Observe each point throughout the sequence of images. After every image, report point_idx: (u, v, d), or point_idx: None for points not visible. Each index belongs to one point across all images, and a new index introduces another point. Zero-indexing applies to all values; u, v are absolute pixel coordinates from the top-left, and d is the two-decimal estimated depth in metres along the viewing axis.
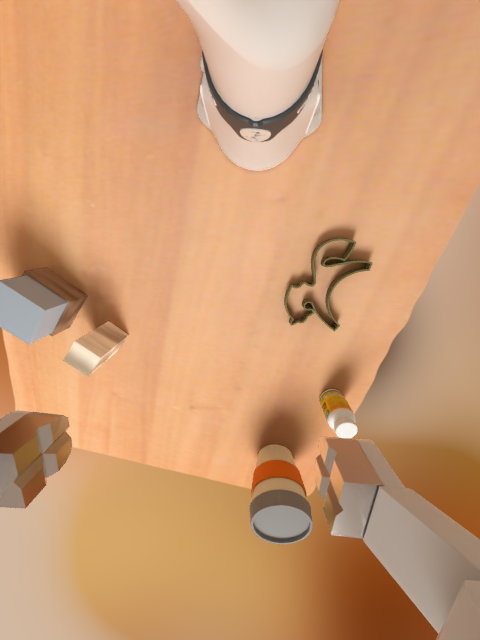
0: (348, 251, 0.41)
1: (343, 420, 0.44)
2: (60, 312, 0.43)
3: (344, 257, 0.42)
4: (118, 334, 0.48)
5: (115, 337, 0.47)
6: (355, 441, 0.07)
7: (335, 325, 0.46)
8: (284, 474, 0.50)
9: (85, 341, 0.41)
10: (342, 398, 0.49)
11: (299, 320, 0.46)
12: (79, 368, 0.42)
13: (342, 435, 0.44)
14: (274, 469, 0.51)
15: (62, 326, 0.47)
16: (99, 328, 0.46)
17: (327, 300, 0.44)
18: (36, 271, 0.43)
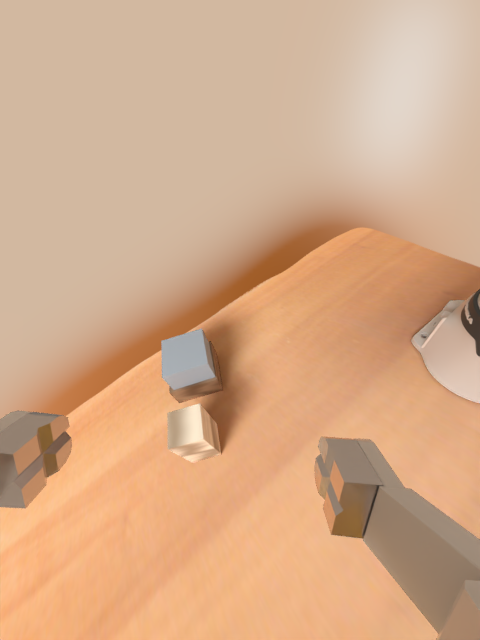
0: None
1: None
2: (202, 379, 0.43)
3: None
4: (217, 442, 0.39)
5: (215, 441, 0.38)
6: (355, 440, 0.07)
7: None
8: None
9: (203, 413, 0.35)
10: None
11: None
12: (171, 432, 0.33)
13: None
14: None
15: (182, 394, 0.44)
16: (211, 419, 0.39)
17: None
18: (213, 348, 0.50)
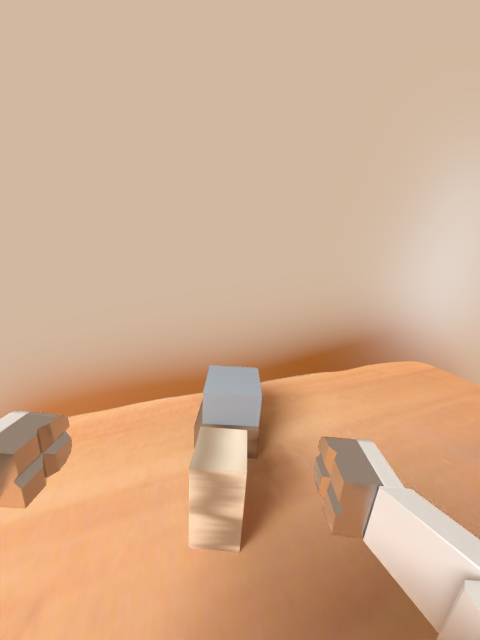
0: None
1: None
2: (243, 421, 0.33)
3: None
4: None
5: None
6: (355, 441, 0.07)
7: None
8: None
9: None
10: None
11: None
12: (199, 449, 0.22)
13: None
14: None
15: None
16: None
17: None
18: None
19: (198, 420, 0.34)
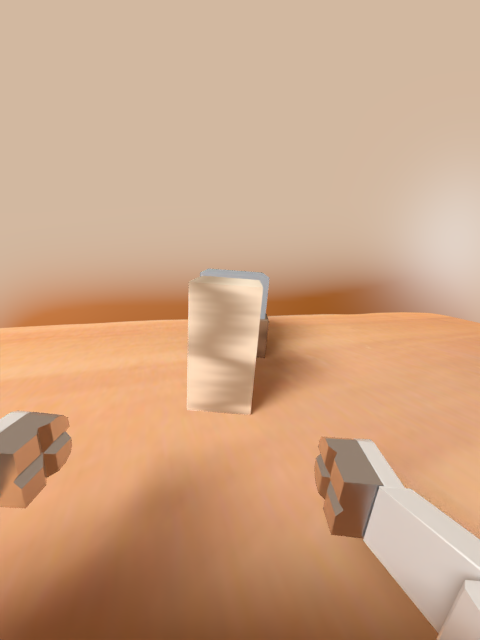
0: None
1: None
2: None
3: None
4: None
5: None
6: (355, 441, 0.07)
7: None
8: None
9: None
10: None
11: None
12: (202, 279, 0.18)
13: None
14: None
15: None
16: None
17: None
18: None
19: None
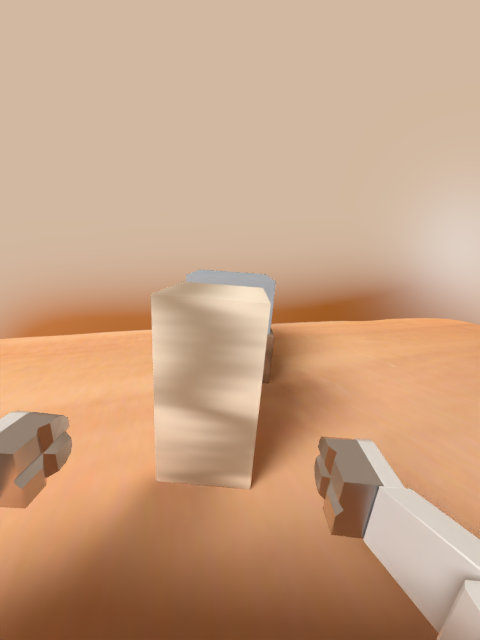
0: None
1: None
2: None
3: None
4: None
5: None
6: (355, 441, 0.07)
7: None
8: None
9: None
10: None
11: None
12: (177, 288, 0.12)
13: None
14: None
15: None
16: None
17: None
18: None
19: None
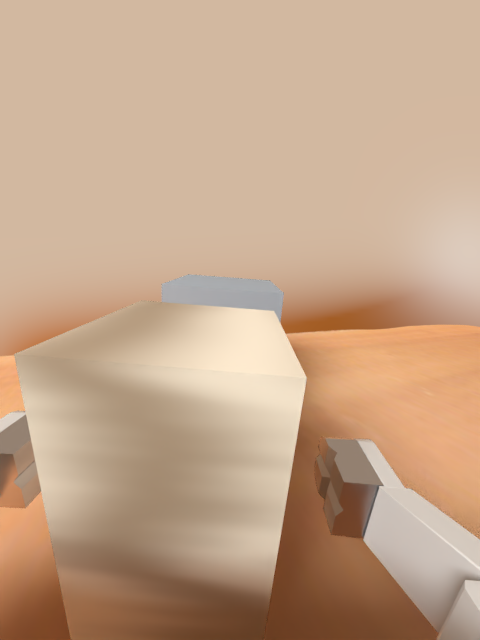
0: None
1: None
2: None
3: None
4: None
5: None
6: (355, 441, 0.07)
7: None
8: None
9: None
10: None
11: None
12: (111, 323, 0.06)
13: None
14: None
15: None
16: None
17: None
18: None
19: None
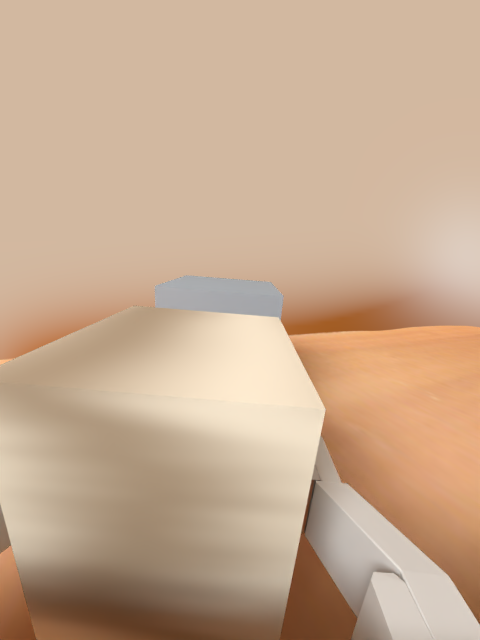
0: None
1: None
2: None
3: None
4: None
5: None
6: None
7: None
8: None
9: None
10: None
11: None
12: (94, 334, 0.05)
13: None
14: None
15: None
16: None
17: None
18: None
19: None
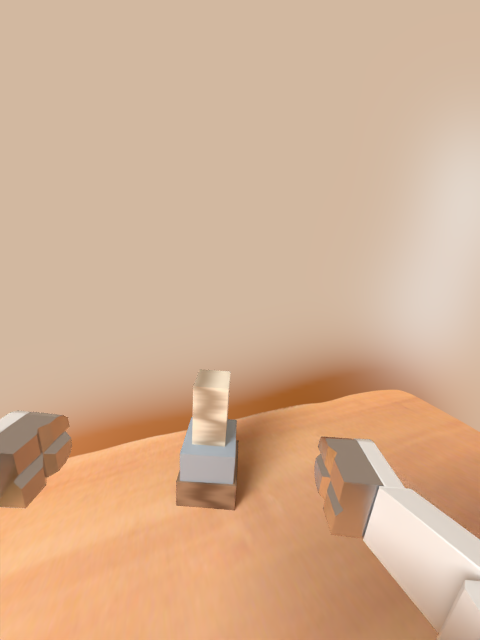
0: None
1: None
2: (218, 479, 0.35)
3: None
4: None
5: None
6: (355, 441, 0.07)
7: None
8: None
9: None
10: None
11: None
12: (199, 379, 0.35)
13: None
14: None
15: (188, 491, 0.35)
16: None
17: None
18: None
19: None
